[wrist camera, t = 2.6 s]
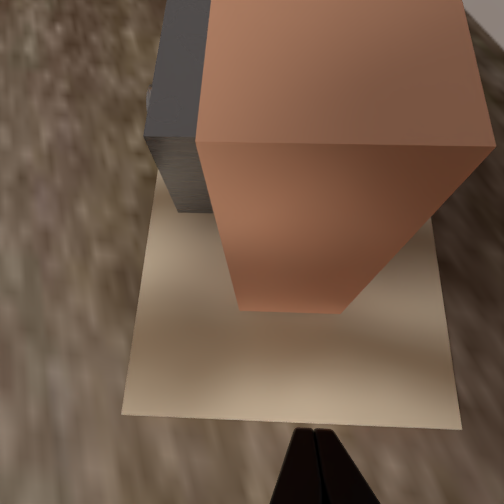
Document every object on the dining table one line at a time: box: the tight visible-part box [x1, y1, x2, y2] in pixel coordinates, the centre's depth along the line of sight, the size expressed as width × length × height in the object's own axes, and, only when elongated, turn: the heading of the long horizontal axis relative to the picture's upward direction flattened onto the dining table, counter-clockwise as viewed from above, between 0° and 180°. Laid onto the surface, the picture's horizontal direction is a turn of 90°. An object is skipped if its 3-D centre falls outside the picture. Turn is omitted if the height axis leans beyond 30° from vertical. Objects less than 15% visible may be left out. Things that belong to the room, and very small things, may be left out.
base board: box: [121, 170, 462, 430], centre depth 19 cm, size 19×14×1 cm
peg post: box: [195, 0, 496, 314], centre depth 12 cm, size 6×4×12 cm
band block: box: [143, 0, 214, 213], centre depth 18 cm, size 8×13×6 cm, turn 88°
